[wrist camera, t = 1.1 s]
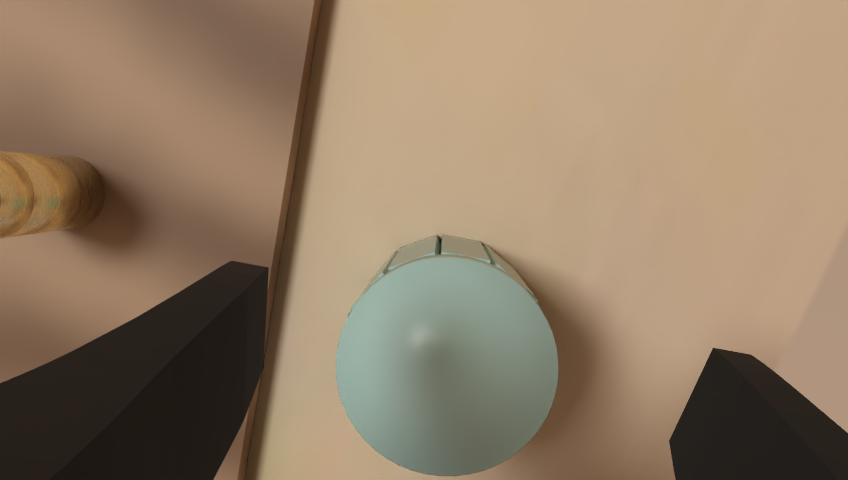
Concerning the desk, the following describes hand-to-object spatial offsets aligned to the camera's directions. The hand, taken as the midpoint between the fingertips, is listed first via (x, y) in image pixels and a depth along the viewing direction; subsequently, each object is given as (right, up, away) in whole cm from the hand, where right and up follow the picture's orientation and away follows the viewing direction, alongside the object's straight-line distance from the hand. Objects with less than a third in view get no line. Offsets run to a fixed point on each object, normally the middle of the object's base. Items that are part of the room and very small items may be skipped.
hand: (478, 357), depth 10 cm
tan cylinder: (-13, +4, +12) cm, 17 cm away
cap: (0, -1, +12) cm, 12 cm away
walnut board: (-13, +4, +12) cm, 17 cm away
